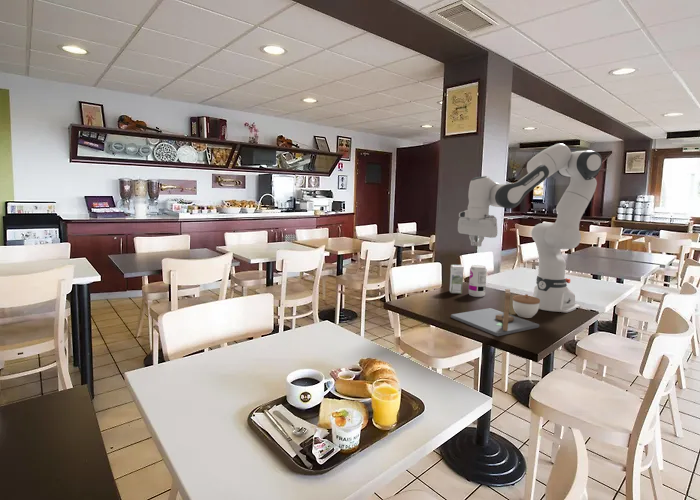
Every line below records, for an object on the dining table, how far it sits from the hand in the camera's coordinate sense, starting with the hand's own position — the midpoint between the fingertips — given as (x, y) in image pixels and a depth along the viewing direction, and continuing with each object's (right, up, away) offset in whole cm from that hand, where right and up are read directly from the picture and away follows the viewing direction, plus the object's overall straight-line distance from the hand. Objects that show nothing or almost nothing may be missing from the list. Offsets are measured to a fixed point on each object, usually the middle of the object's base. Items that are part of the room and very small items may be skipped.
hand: (475, 245), depth 179 cm
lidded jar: (+20, -30, -3) cm, 37 cm away
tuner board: (+3, -31, -12) cm, 34 cm away
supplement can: (+10, -25, +31) cm, 41 cm away
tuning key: (+6, -31, -18) cm, 36 cm away
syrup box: (0, -24, +36) cm, 44 cm away
